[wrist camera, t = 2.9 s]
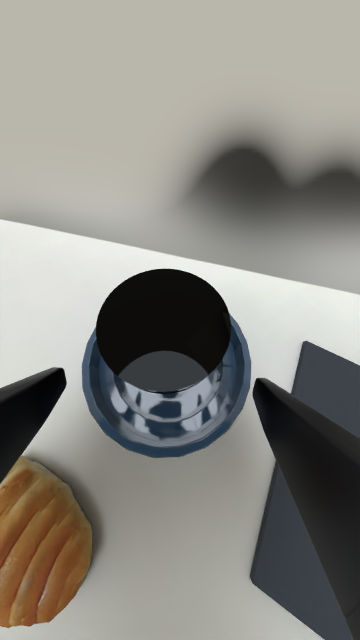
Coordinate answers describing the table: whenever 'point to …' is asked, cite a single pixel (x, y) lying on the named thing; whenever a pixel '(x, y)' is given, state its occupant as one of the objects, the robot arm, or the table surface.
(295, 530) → the placemat
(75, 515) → the pastry
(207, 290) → the supplement container
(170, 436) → the bowl
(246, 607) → the table surface
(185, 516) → the table surface
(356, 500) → the robot arm
